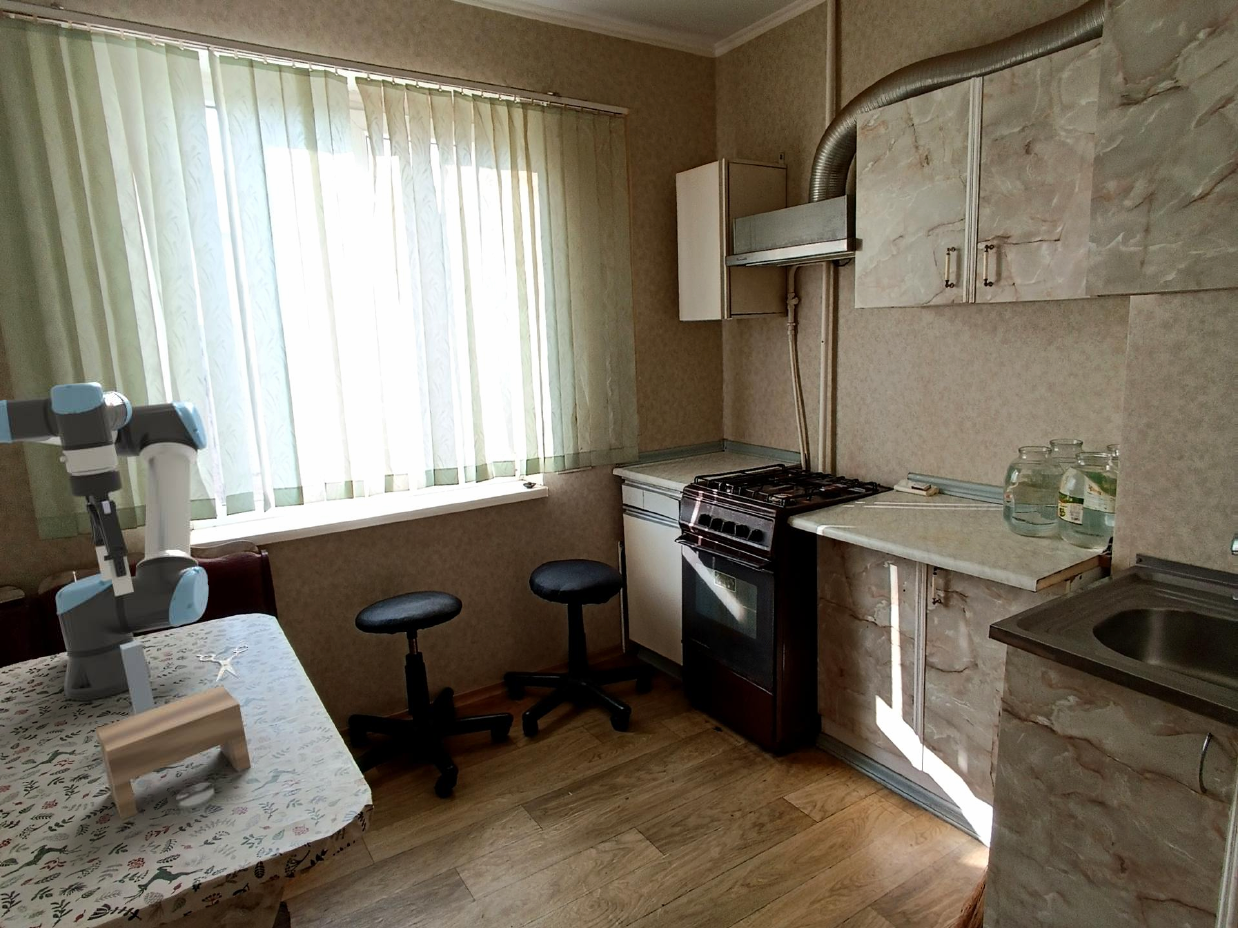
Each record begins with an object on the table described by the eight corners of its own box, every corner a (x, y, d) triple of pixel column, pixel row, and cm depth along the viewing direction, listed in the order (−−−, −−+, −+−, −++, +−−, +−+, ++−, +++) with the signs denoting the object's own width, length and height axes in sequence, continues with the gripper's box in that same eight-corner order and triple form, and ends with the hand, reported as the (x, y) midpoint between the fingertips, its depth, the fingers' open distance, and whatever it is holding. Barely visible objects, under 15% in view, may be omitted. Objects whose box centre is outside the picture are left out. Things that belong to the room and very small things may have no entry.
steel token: (173, 802, 115) (171, 794, 115) (208, 786, 119) (207, 778, 119) (183, 815, 112) (182, 806, 112) (219, 798, 115) (218, 790, 115)
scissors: (247, 642, 177) (254, 671, 160) (248, 645, 177) (254, 674, 160) (196, 654, 172) (197, 686, 155) (197, 658, 172) (198, 689, 155)
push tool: (127, 729, 140) (110, 648, 137) (164, 716, 143) (148, 637, 141) (148, 767, 125) (129, 677, 123) (189, 752, 129) (171, 664, 127)
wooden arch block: (110, 792, 119) (96, 728, 117) (233, 744, 131) (221, 685, 129) (121, 819, 112) (106, 751, 110) (250, 766, 123) (239, 703, 121)
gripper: (59, 469, 140) (83, 578, 144) (77, 481, 122) (104, 606, 126) (106, 462, 145) (128, 568, 149) (131, 472, 127) (155, 593, 130)
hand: (117, 586), depth 137 cm, fingers open, 13 cm apart
